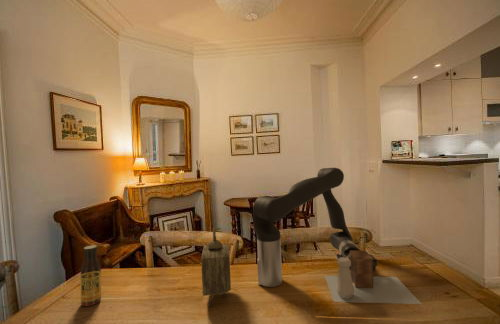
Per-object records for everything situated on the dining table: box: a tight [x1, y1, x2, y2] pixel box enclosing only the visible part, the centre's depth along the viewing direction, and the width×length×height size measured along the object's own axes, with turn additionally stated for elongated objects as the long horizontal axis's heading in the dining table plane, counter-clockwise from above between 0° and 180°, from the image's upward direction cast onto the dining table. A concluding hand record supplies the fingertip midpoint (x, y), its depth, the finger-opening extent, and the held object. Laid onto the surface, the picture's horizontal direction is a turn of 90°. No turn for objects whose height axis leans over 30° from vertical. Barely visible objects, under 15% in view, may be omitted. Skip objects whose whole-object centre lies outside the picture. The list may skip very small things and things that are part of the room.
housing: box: [350, 250, 374, 288], centre depth 95 cm, size 6×7×11 cm
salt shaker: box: [336, 257, 354, 300], centre depth 87 cm, size 6×6×13 cm
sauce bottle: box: [79, 244, 102, 307], centre depth 90 cm, size 7×6×20 cm
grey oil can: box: [201, 226, 232, 308], centre depth 90 cm, size 14×9×25 cm, turn 5°
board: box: [324, 275, 422, 305], centre depth 91 cm, size 27×18×1 cm, turn 83°
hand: (361, 268), depth 94 cm, fingers open, 8 cm apart
